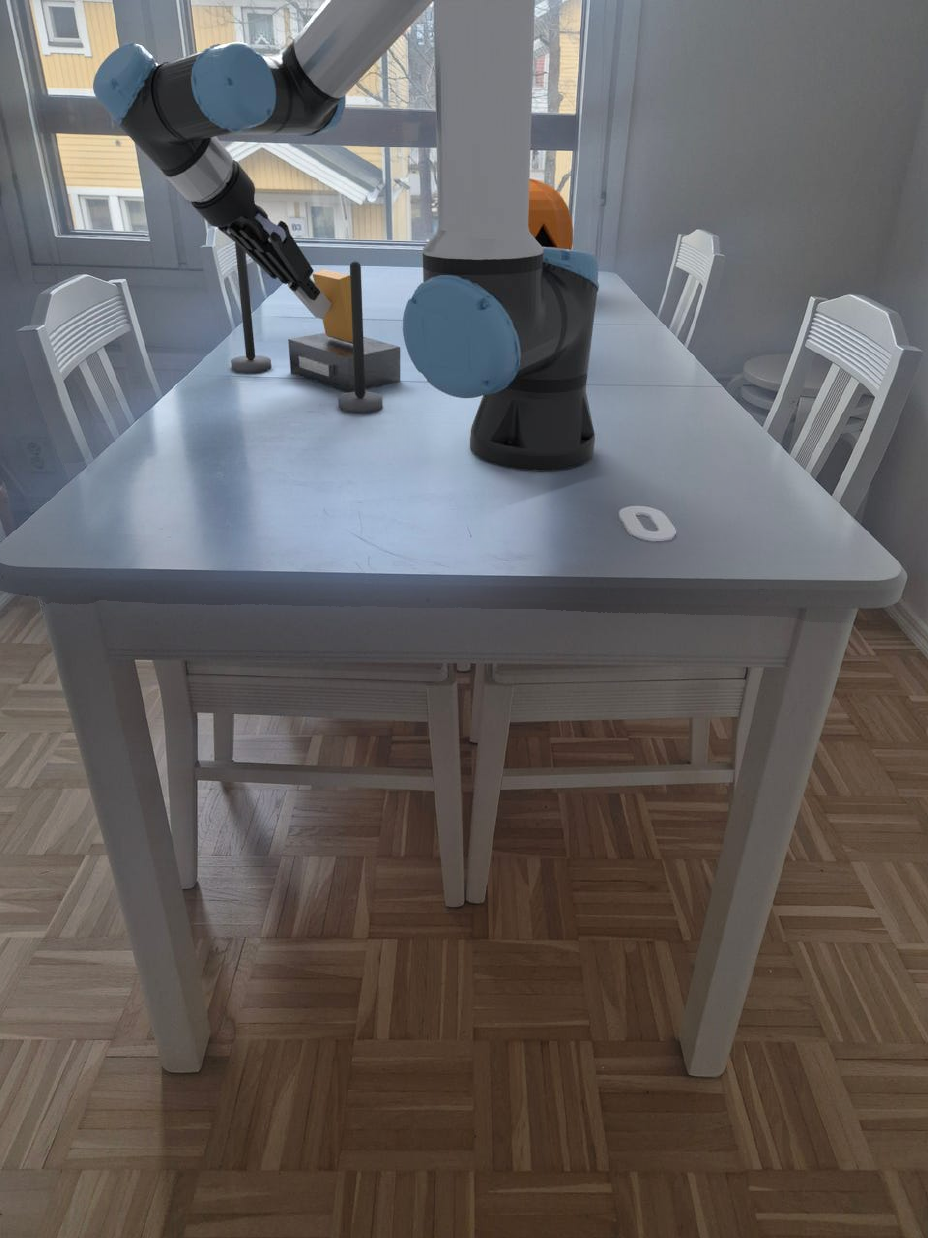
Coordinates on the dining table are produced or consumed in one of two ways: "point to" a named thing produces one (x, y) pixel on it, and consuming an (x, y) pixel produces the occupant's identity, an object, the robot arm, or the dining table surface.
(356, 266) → the stand
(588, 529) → the dining table surface
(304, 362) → the block
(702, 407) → the dining table surface
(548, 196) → the jack-o'-lantern
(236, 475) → the dining table surface
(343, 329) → the orange rectangular prism
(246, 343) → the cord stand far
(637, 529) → the chain link
